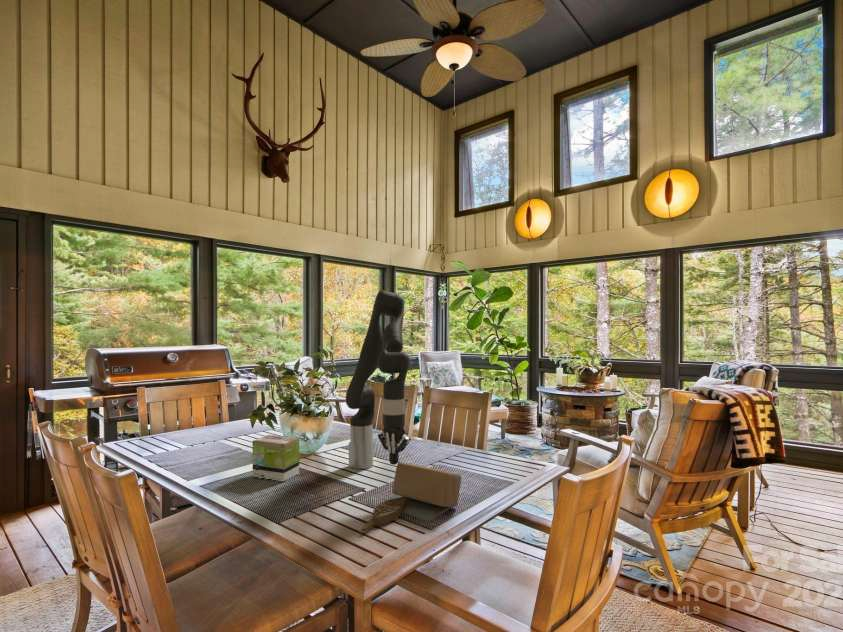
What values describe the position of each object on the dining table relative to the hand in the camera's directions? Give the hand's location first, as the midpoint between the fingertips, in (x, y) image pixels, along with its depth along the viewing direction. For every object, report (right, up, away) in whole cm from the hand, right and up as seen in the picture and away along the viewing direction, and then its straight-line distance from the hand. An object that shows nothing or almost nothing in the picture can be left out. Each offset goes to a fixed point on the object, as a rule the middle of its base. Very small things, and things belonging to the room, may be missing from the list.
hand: (393, 463), depth 151 cm
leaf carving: (-2, -12, -15) cm, 19 cm away
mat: (+8, -12, -5) cm, 15 cm away
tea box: (-47, -13, +25) cm, 55 cm away
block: (+2, -6, +2) cm, 6 cm away
